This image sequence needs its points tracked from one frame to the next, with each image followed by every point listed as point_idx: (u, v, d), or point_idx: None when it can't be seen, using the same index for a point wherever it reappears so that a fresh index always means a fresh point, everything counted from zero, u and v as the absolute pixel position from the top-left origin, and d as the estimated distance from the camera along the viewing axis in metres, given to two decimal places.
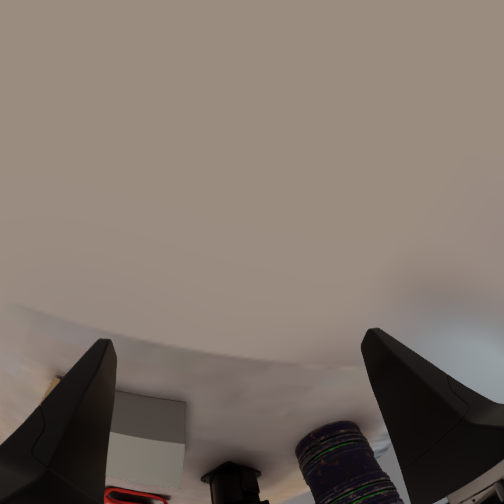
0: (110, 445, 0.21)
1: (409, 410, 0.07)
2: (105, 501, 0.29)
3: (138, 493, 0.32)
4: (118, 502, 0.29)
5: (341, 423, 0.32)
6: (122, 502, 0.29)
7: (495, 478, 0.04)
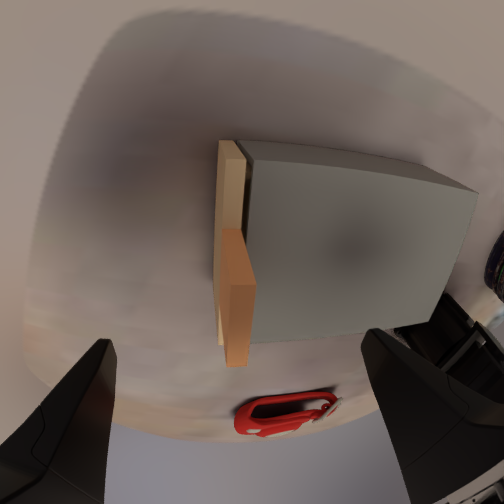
0: (382, 223, 0.14)
1: (409, 410, 0.07)
2: (247, 426, 0.28)
3: (295, 396, 0.30)
4: (269, 421, 0.28)
5: None
6: (275, 419, 0.28)
7: (495, 478, 0.04)
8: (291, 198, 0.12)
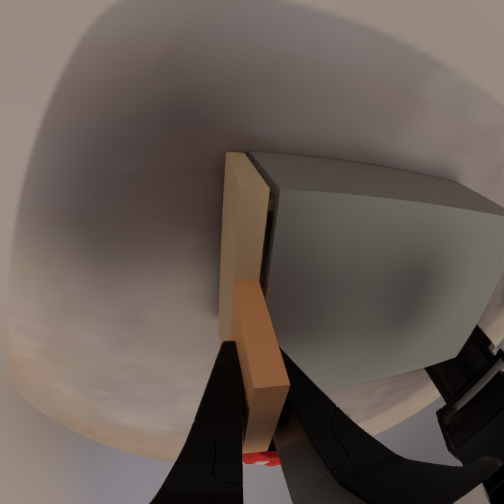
0: (429, 263, 0.10)
1: (288, 441, 0.06)
2: (256, 459, 0.25)
3: None
4: None
5: None
6: None
7: None
8: (327, 240, 0.09)
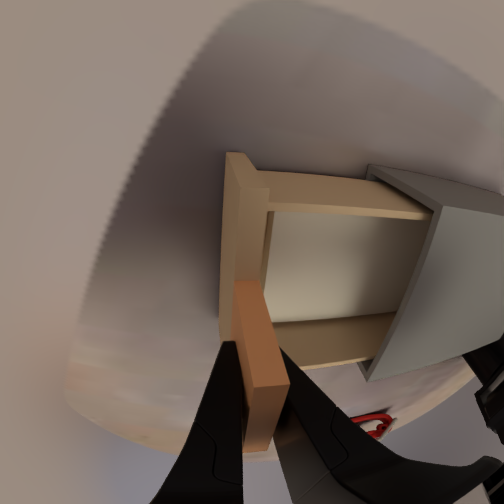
0: (501, 260, 0.11)
1: (288, 441, 0.06)
2: None
3: (357, 419, 0.29)
4: None
5: None
6: None
7: None
8: (457, 243, 0.10)
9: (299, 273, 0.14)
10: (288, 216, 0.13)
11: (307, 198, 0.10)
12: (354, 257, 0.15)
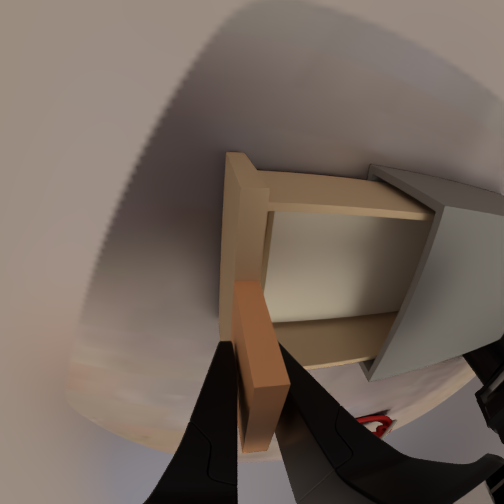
0: (501, 260, 0.11)
1: (292, 440, 0.06)
2: None
3: None
4: None
5: None
6: None
7: None
8: (459, 243, 0.10)
9: (299, 273, 0.14)
10: (288, 216, 0.13)
11: (307, 198, 0.10)
12: (354, 257, 0.15)
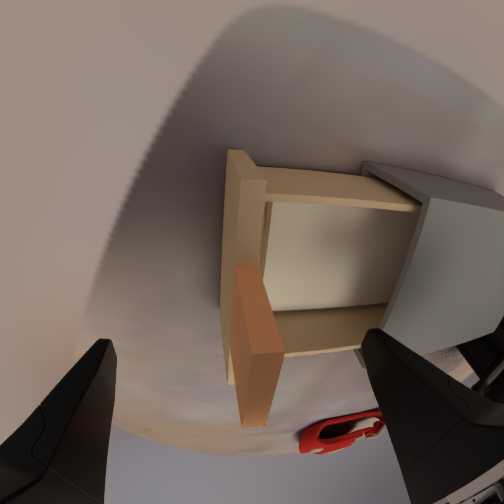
0: (491, 252, 0.12)
1: (409, 410, 0.07)
2: (313, 447, 0.28)
3: (355, 416, 0.30)
4: (334, 440, 0.28)
5: None
6: (339, 438, 0.28)
7: (495, 478, 0.04)
8: (446, 233, 0.11)
9: (296, 263, 0.15)
10: (285, 209, 0.14)
11: (301, 191, 0.11)
12: (348, 248, 0.15)
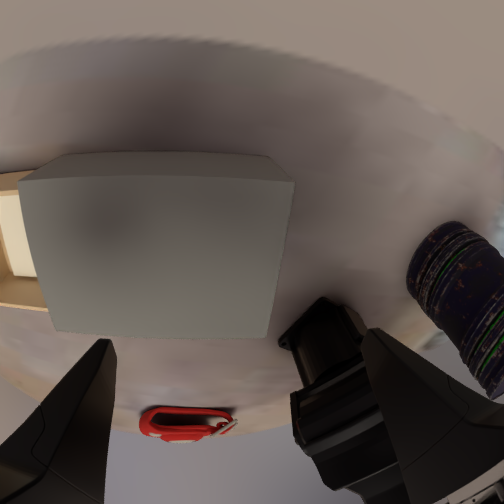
0: (136, 226, 0.13)
1: (409, 410, 0.07)
2: (148, 430, 0.29)
3: (193, 410, 0.31)
4: (166, 428, 0.29)
5: (458, 223, 0.24)
6: (172, 427, 0.29)
7: (495, 478, 0.04)
8: (46, 208, 0.12)
9: (19, 239, 0.16)
10: (1, 201, 0.14)
11: None
12: None
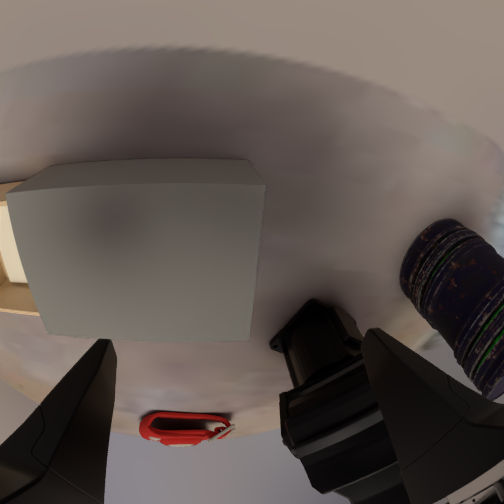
0: (114, 233, 0.13)
1: (409, 410, 0.07)
2: (148, 434, 0.30)
3: (191, 415, 0.32)
4: (165, 432, 0.30)
5: (452, 220, 0.23)
6: (171, 432, 0.30)
7: (495, 478, 0.04)
8: (32, 218, 0.12)
9: (13, 247, 0.16)
10: None
11: None
12: None
